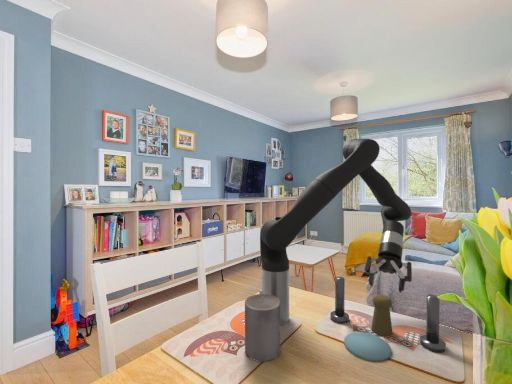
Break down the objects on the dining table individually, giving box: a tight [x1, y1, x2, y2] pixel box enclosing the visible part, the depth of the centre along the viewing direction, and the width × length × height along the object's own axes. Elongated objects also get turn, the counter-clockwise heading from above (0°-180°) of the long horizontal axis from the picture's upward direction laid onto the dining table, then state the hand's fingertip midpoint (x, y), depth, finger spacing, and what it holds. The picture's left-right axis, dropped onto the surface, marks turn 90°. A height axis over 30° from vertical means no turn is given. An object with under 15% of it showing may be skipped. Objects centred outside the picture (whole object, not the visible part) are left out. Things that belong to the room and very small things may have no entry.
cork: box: [370, 294, 394, 338], centre depth 81 cm, size 6×6×11 cm
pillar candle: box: [244, 294, 281, 363], centre depth 71 cm, size 10×10×15 cm
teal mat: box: [343, 331, 392, 362], centre depth 73 cm, size 12×12×1 cm
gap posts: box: [330, 276, 447, 354], centre depth 81 cm, size 32×6×14 cm, turn 55°
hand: (385, 288), depth 86 cm, fingers open, 8 cm apart
